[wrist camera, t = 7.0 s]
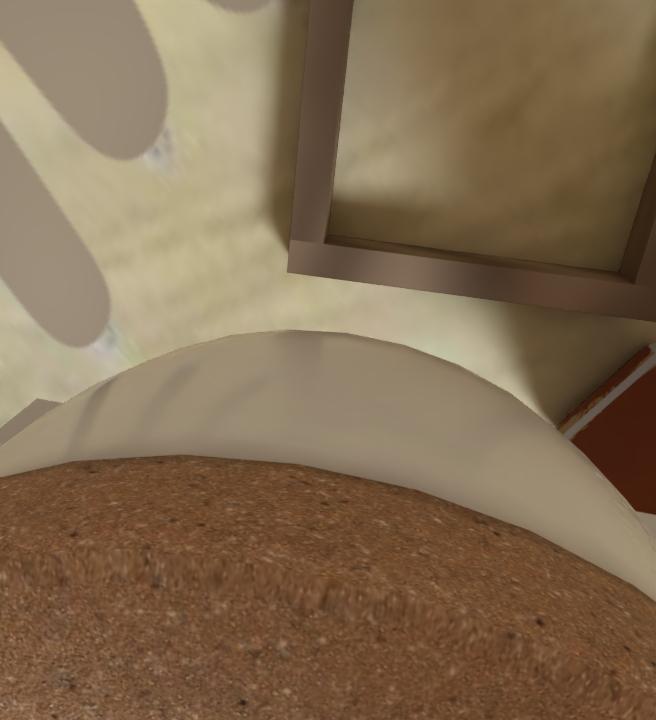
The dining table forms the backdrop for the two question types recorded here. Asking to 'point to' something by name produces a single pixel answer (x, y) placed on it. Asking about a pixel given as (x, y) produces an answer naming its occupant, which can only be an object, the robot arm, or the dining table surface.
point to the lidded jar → (316, 547)
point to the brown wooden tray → (427, 265)
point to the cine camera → (622, 430)
